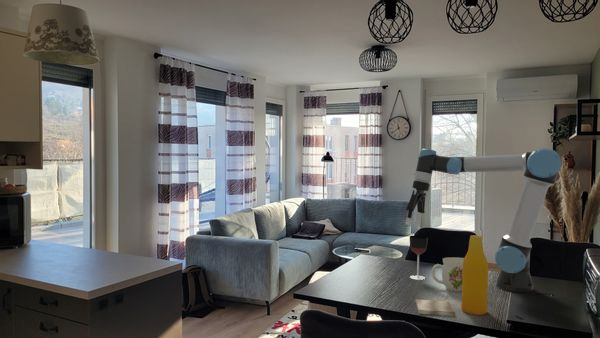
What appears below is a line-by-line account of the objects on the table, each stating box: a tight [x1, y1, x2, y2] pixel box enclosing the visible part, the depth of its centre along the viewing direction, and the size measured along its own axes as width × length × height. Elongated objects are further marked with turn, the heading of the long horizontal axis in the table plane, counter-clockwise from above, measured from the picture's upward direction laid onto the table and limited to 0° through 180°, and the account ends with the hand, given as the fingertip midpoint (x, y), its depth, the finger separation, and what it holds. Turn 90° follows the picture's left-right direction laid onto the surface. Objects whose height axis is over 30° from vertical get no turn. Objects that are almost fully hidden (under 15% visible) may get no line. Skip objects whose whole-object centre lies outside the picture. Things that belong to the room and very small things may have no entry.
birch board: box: [415, 298, 456, 317], centre depth 167 cm, size 13×12×2 cm
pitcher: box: [431, 256, 465, 292], centre depth 193 cm, size 11×18×14 cm, turn 86°
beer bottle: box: [461, 234, 489, 316], centre depth 166 cm, size 9×9×29 cm
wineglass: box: [409, 235, 429, 281], centre depth 211 cm, size 8×9×20 cm
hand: (412, 225), depth 204 cm, fingers open, 13 cm apart
